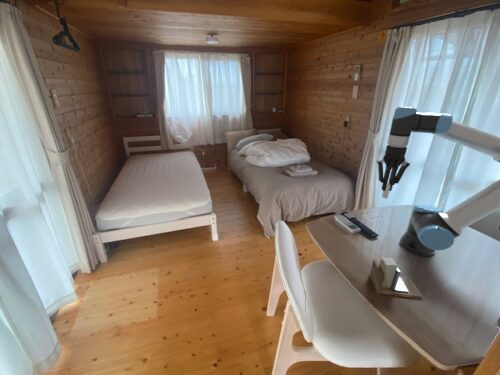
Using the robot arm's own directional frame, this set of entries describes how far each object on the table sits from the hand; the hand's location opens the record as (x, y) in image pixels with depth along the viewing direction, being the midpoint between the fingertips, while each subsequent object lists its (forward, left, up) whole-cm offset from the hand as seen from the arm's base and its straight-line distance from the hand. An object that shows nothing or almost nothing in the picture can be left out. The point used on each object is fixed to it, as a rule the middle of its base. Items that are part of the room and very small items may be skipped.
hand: (384, 197), depth 109 cm
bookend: (-3, +24, -28) cm, 37 cm away
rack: (-2, +24, -29) cm, 38 cm away
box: (+3, +24, -28) cm, 37 cm away
